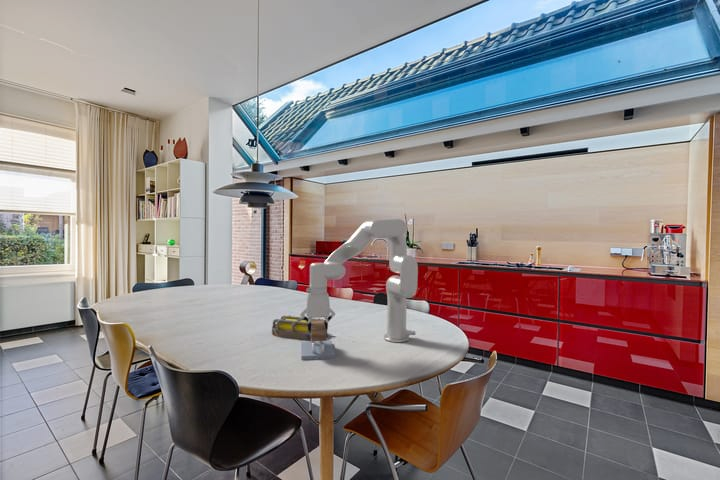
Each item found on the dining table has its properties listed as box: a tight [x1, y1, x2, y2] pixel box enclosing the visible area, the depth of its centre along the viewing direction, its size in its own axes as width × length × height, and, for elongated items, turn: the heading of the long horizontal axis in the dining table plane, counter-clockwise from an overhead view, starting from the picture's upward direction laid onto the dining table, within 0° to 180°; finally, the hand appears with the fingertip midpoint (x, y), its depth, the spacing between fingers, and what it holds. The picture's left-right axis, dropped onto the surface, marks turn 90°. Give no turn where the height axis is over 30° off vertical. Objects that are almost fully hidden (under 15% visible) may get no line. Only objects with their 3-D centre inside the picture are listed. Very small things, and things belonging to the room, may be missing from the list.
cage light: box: [271, 314, 328, 341], centre depth 170 cm, size 15×8×30 cm
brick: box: [310, 318, 327, 341], centre depth 145 cm, size 16×6×5 cm, turn 10°
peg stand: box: [300, 340, 336, 361], centre depth 145 cm, size 14×18×6 cm
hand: (317, 330), depth 145 cm, fingers closed on brick, 6 cm apart
